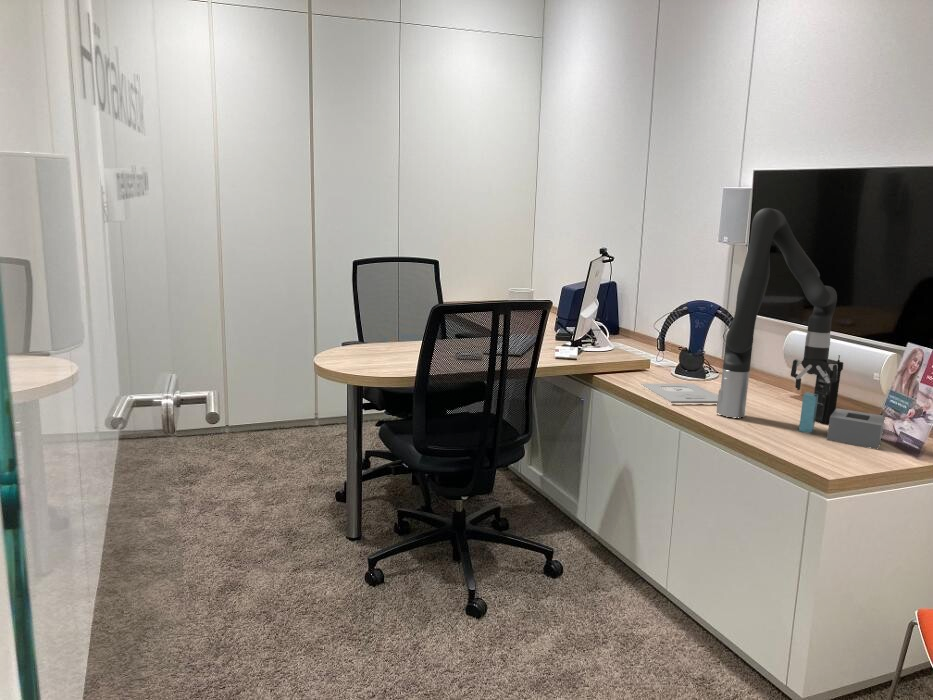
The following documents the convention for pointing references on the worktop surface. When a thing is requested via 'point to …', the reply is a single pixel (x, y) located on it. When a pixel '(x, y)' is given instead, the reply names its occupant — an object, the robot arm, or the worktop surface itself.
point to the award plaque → (682, 393)
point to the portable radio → (829, 400)
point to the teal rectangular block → (808, 412)
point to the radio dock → (855, 428)
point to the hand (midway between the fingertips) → (812, 391)
